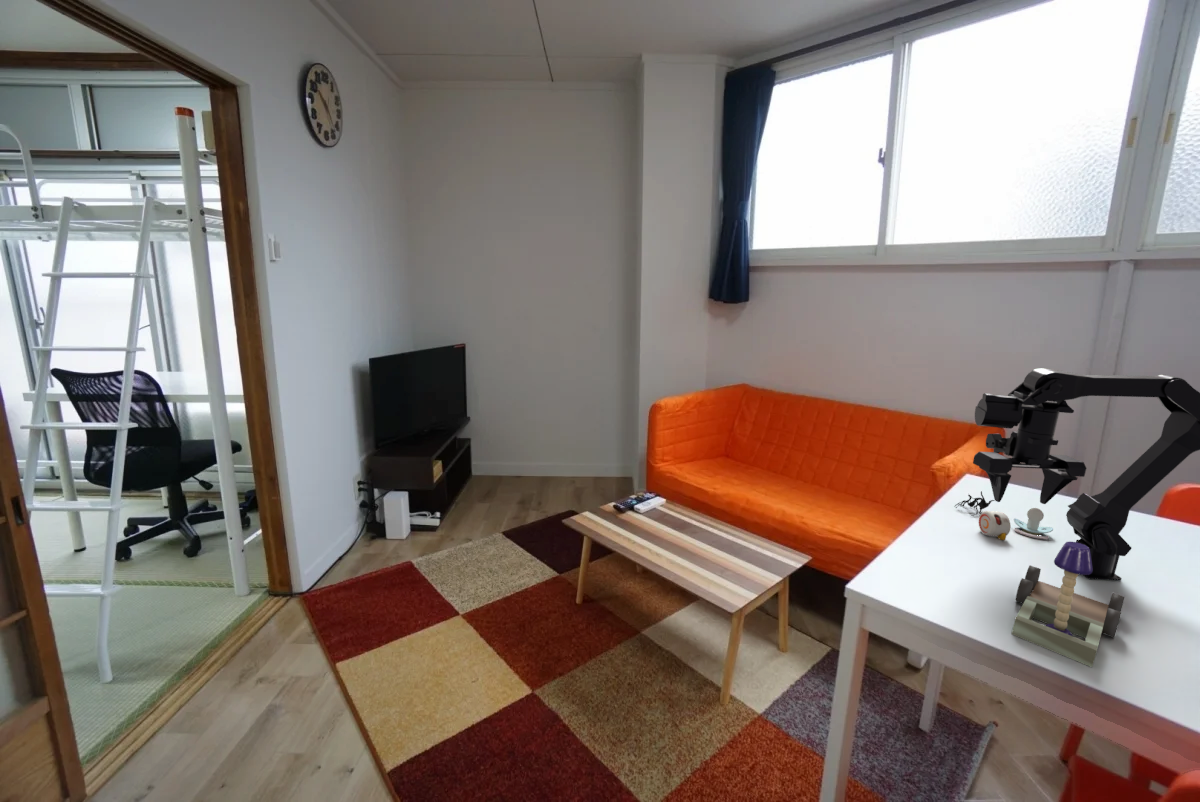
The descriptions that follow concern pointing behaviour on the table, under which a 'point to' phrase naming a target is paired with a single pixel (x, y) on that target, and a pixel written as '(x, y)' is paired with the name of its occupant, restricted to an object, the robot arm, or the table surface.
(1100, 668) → the table surface
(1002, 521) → the roller toy
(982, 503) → the creature
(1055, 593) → the chassis
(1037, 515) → the pacifier
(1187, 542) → the table surface
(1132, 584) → the table surface
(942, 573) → the table surface
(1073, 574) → the toy lamp
